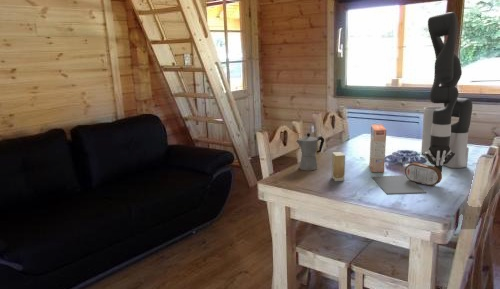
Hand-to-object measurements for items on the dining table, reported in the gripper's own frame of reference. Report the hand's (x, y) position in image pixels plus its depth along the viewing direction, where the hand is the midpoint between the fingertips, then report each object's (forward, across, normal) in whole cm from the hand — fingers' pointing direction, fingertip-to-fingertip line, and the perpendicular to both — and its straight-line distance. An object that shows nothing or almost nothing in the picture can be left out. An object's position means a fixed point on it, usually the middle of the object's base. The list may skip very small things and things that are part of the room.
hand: (437, 173), depth 171 cm
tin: (+4, +7, 0) cm, 8 cm away
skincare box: (+5, +40, -10) cm, 42 cm away
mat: (+5, +17, 0) cm, 18 cm away
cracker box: (+5, +18, -24) cm, 31 cm away
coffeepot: (+5, +50, -29) cm, 59 cm away
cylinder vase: (+5, -20, -47) cm, 51 cm away
